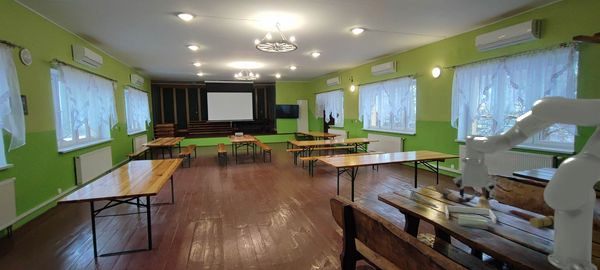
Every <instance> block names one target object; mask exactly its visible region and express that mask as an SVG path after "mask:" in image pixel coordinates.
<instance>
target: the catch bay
mask: <svg viewBox="0 0 600 270" xmlns="http://www.w3.org/2000/svg"><path fill="white" fill-rule="evenodd" d="M444 212H445V216H446V219H447V220H449V219H450V215H449V212H450V213H451V212H454V213H461V214H462V213H465V214H474V213H475V215H476V214H477V215H479V214H480V215H487V216H489V218H490V219H491V221H492V222H493V224H497V217H496V215H495V214H494V212H493V211H492V209H484V208H477V207H471V206H470V207H469V206H456V205H446V204H445V205H444Z"/></svg>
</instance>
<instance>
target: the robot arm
mask: <svg viewBox="0 0 600 270" xmlns="http://www.w3.org/2000/svg"><path fill="white" fill-rule="evenodd" d="M556 124H561V125H570V126H582V127H596V129H595V131H594V132H593V133H592V135H591V136H590V137H589V138H588V140H587V141H586V143H585V145H584V146H583V147H582V149H581V151H580V152H578V153H577V154H576V155H575V154H574V155H572V156H569V157H568V158H566V159H564V160H563V161H561V163H560V165H559V166H558V168H557V169H556V170H555V172H554V174H553V175H552V177H551V178H550V180H549V181H548V183H547V184H546V186H545V188H544V191H543V199H544V202H545V203H546V204H547V206H548V207H550V208H551V209H553V210H554V216H553V217H554V226H553V253H551V254H549V255H548V256H547V261H548V262H549V263H550V264H551V265H552V266H554V267H556V268H557V269H559V270H598V267H597V266H596V265H595V264H594V263H592V246H593V245H592V244H593V243H592V242H593V241H592V239H593V222H594V221H593V219H594V217H593V216H594V210H595V204H596V199H597V197H596V196H597V194H596V190H595V189H594V185H596V183H598V182H600V98H567V97H564V96H557V95H555V96H545V97H542V98H541V97H540V98H539V99H537V100H536V101H534V102H533V104H532V106H531V108H530V110H528V111H526V112H524V113H523V114H521V115H520V116H517V117H516V119H515V123H514V124H513V126H512V127H510V128H509V129H506V130H505V131H503V132H502V133H499V134H496V135H490V136H484V135H481V134H480V135H479V134H470V135H467V136H466V137H465V154H464V155H465V156H464V158H462V159H461V162H462V163H463V166H462V172H461V175H460V176H456V177H455V178H453V179H452V180H453V182H454V184H455V186H456V187H458V189H459V196H460V198H465V196H464V195H465V194H464V193H465V190H464V188H465V187H471V188H481V187H485V188H486V189H485V198H486V199H487V200H488V199H489V198H491V197H490V195H491V193H490V192H491V191H492V190H493V189H494V188H495V187H496V185H497V184H498V181H496V180H495V179H492V178H490V177H489V172H488V166H487V164H485V162H486V159H485V158H486V154H487V155H494V154H498V153H502V152H507V151H509V150H511V149H513V148H515V147H517V146H518V145H521V144H522V143H524V142H526V141H527V140H529V139H531V138H532V137H533V136H534V135H536V134H538V133H540V132H543V131H544V130H546V129H547V128H549V127H551V126H554V125H556ZM460 180H461V183H459V181H460ZM489 182H490V183H491V184H490V185H489Z"/></svg>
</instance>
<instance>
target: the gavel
mask: <svg viewBox="0 0 600 270" xmlns="http://www.w3.org/2000/svg"><path fill="white" fill-rule="evenodd" d="M508 212H509V214H511V215H513V216H517V217H519V218H521V219H525V220H527V221H528V220H529V223H530V225H531V226H532V228H533V227H534V228H536V229H539V228H543V227H550V226H552V227H554V216H553V215H547V216H545V217H544V216H543V217H536V216H534V215H531V214H528V213H525V212H520V211H517V210H515V209H512V210H511V209H509V210H508Z"/></svg>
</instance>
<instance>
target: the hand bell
mask: <svg viewBox="0 0 600 270" xmlns="http://www.w3.org/2000/svg"><path fill="white" fill-rule="evenodd" d="M480 188H481V196H480V197H479V198H478V202H477V204H475V208H484V209H491V210H493V206H492V205H491V204H490V200H489V198H488V200H487V199H486V198H485V189H486V188H485V187H480Z"/></svg>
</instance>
